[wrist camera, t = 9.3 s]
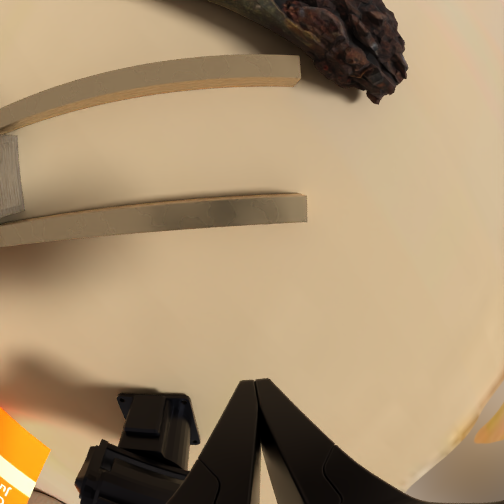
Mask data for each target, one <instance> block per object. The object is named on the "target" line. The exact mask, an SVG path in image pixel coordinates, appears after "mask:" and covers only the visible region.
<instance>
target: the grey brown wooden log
mask: <svg viewBox="0 0 504 504" xmlns="http://www.w3.org/2000/svg"><path fill="white" fill-rule="evenodd" d="M207 1H210V2H212V3H215V4H218V5H220V6H223V7H225V8H227V9H230V10H232V11H234V12H236V13H238V14H240V15H242V16H244V17H246V18H248V19H250V20H252V21H254V22H256V23H258V24H260V25H262V26H264V27H266V28H268V29H270V30H271V31H273V32H275V33H277V34H279V35H280V36H282V37H284V38H285V39H287V40H289V41H290V42H292V43H293V44H295V45H296V46H298V47H299V48H301V49H302V50H304V51H305V53H306V54H307V55H309V56H310V57H311V58H312V59H313V60H314V65H315V67H316V69H317V70H318V71H319V72H321V73H323V74H324V76H325V77H326V78H327V79H331V80H333V81H334V82H335V83H336V84H337V85H338V86H340V87H342V88H348V87H356V88H358V89H361V90H363V91H364V90H367V93H366V94H367V97H368V98H369V99H370V100H371V101H372V102H373V103H374V104H378V105H379V102H380V100H381V99H382V97H383V96H384V95H387V94H389V95H391V94H392V93H394V91H395V87H396V85H398V84H400V82H401V81H402V80H403V79H407V73H406V71H407V69H408V65H407V63H406V61H405V59H404V57H403V55H402V53H403V52H404V50H405V47H404V45H405V42H404V40H403V39H402V37H401V36H400V34H399V33H398V31H397V26H398V23H397V21H396V19H395V17H394V13H393V12H391V11H390V10H388V9H387V8H386V7H385V5H384V3H383V2H382V0H207Z"/></svg>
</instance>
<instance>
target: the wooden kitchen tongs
mask: <svg viewBox="0 0 504 504" xmlns="http://www.w3.org/2000/svg"><path fill="white" fill-rule="evenodd" d="M300 79H301V70H300V59H299V56H295V55H264V54H253V55H222V56H207V57H195V58H185V59H177V60H169V61H162V62H155V63H149V64H144V65H138V66H133V67H128V68H123V69H118V70H114V71H109V72H105V73H101V74H97V75H93V76H90V77H86V78H82V79H79V80H75V81H72V82H69V83H66V84H63V85H59V86H56V87H53V88H51V89H48V90H45V91H42V92H39V93H37V94H34V95H31V96H29V97H26V98H24V99H21V100H19V101H17V102H14V103H12V104H10V105H7V106H5V107H3V108H1V109H0V135H3V134H6V133H8V132H11V131H13V130H16V129H19V128H21V127H24V126H27V125H30V124H33V123H36V122H39V121H42V120H45V119H48V118H51V117H55V116H58V115H61V114H65V113H69V112H72V111H76V110H80V109H84V108H88V107H92V106H96V105H100V104H105V103H110V102H114V101H119V100H125V99H130V98H135V97H141V96H148V95H154V94H161V93H169V92H177V91H186V90H196V89H208V88H223V87H247V86H287V87H294V86H295V85H296V83H297V82H298V81H299V80H300ZM296 222H307V196H305V195H302V194H299V193H292V194H266V195H246V196H228V197H213V198H199V199H187V200H175V201H164V202H153V203H143V204H134V205H125V206H116V207H108V208H100V209H92V210H84V211H77V212H70V213H63V214H56V215H50V216H43V217H37V218H31V219H25V220H19V221H14V222H8V223H3V224H0V247H7V246H15V245H23V244H32V243H41V242H50V241H59V240H69V239H79V238H89V237H99V236H110V235H121V234H132V233H144V232H156V231H169V230H182V229H196V228H210V227H225V226H241V225H258V224H276V223H296Z"/></svg>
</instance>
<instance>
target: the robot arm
mask: <svg viewBox="0 0 504 504" xmlns="http://www.w3.org/2000/svg"><path fill="white" fill-rule="evenodd" d="M183 400H185V401H183ZM117 401H118V404H119V406H120V408H121V411H122V413H123V415H124V418H125V420H126V421H125V424H124V427H123V432H122V435H121V438H120V441H119V444H118V447H117V446H115V445H112V444H110V443H108V441H106V440H103V439H102V440H101V443H100V445H99V446H98V445H96V446H91V447H90V449H89V452H88V454H87V457H86V460H85V462H84V464H83V466H82V468H81V470H80V472H79V474H78V476H77V478H76V481H75V486H76V488H77V490H78V492H79V493H80V494H79V498H80V499H81V502H80V504H259V501H260V471H261V447H262V451H263V455H264V459H265V462H266V466H267V469H268V473H269V476H270V480H271V483H272V486H273V490H274V493H275V497H276V500H277V503H278V504H504V500H503V501H499V502H491V503H436V502H435V503H434V502H426V501H422V500H419V499H415V498H413V497H411V496H409V495H407V494H405V493H403V492H402V491H400V490H398V489H397V488H395V487H393V486H392V485H390V484H388V483H387V482H385V481H383V480H382V479H380V478H379V477H377V476H375V475H374V474H372V473H371V472H369V471H368V470H367V469H365V468H364V467H362V466H361V465H359V464H358V463H357V462H355V461H354V460H353V459H352V458H351V457H349V456H348V455H347V454H346V453H345V452H344V451H343V450H341V449H340V448H339V447H338V446H337V445H335V443H334V442H333V441H332V440H331V439H329V438H328V437H327V436H326V435H325V434H324V433H323V432H322V431H321V430H320V429H319V428H318V427H317V426H316V425H315V424H314V423H313V422H312V421H311V420H310V419H309V418H308V417H307V416H306V415H305V414H303V413H302V412H301V411H300V410H299V409H298V408H297V407H296V406H295V405H294V404H293V403H292V402H291V401H290V400H289V398H288V397H287V396H286V395H285V394H284V393H283V392H282V391H281V390H280V389H279V388H278V387H277V386H276V385H275V384H274V383H273V382H272V381H271V380H270V379H268V378H265V379H256V380H255V381H254V380H242V381H240V382H239V384H238V386H237V388H236V390H235V391H234V393H233V395H232V397H231V399H230V401H229V403H228V405H227V406H226V408H225V410H224V412H223V414H222V416H221V418H220V419H219V421H218V423H217V425H216V427H215V429H214V430H213V432H212V434H211V436H210V438H209V439H208V441H207V443H206V445H205V446H204V448H203V450H202V452H201V454H200V455H199V457H198V460H196V462H195V464H194V465H193V467H192V469H191V471H188V459H189V447H190V445H198V444H200V435H199V432H198V428H197V424H196V420H195V416H194V412H193V408H192V404H191V399H190V398H189V397H188V396H186V395H146V394H125V393H120V394H118V397H117Z"/></svg>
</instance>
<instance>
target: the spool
mask: <svg viewBox="0 0 504 504" xmlns="http://www.w3.org/2000/svg"><path fill="white" fill-rule="evenodd" d="M21 211H25V206H24V199H23V192H22V185H21V176H20V167H19V155H18V138H17V136H13V135H0V218H1V217H5V216H8V215H11V214H15V213H18V212H21Z"/></svg>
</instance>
